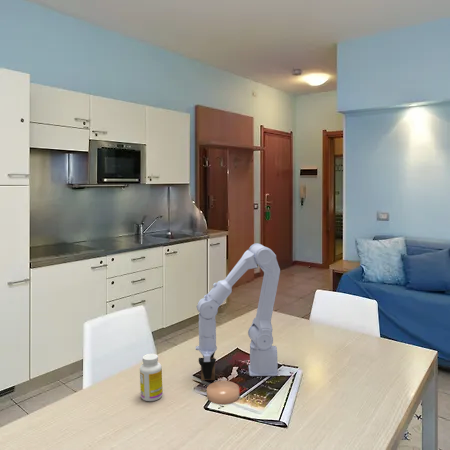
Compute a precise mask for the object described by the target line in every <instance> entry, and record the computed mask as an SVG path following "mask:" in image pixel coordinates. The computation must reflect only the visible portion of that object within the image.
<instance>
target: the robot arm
mask: <svg viewBox="0 0 450 450" xmlns="http://www.w3.org/2000/svg"><path fill="white" fill-rule="evenodd" d="M258 266H259V268H260V269H261V270H262V272H263V277H262V283H261V288H260V294H259V299H258V304H257V309H256V314H255V317H254V318H253V319H252V323H251V325H250V327H248V330H247V335H248V337H249V339H250V343H249V364H248V365H247V366H248V374H249V376H250V377H271V376H272V377H274V376H279V374H278V365H279V363H278V348H277V345H273V344H274V336H273V325H272V318H273V317H272V316H273V312H274V305H275V301H276V296H277V291H278V285H279V280H280V274H281V268H280V266H279V262H278V259H277V254H275V252H274V251H273V250H272V249H271V248H269V247H267V246H264V245H263V244H261V243H258V242H257V243H253V244H251V245H250V247H249V248H248V249H246V251H244V253H243V254H242V256H241V257H240V259H239V260H238V261H237V262H236V264H235V265H234V267H233V268H232V269H231V271H229V273H228V274H227V276H226V277H225V278H224V279H221V280H218V281H217V282H214V283H213V284H212V286H213V287H212V288H211V289H210V291H209V292H208V293H206V294H205V295H203V298H200V299H199V301H198V303H197V305H196V309H197V311H198V345H196V346H195V351H199V353H200V354H201V355H202V357H198V363H199V366H200V368H201V367H202V370H203V375H204V379H211V376H212V370H213V366H214V364H215V365H216V362H217V358H215V353H216V351H217V349H218V347H217V326H216V325H217V321H216V316H217V314H218V311H219V310H218V309H219V307H220V306H221V305H222V304H223V303H224V302H225V301H226V299H228V297H229V296H230V295H231V294H232V292H233V291H232V290H233V289H232V288H233V286H234V285H235V284H236V283H237V282H238V280H239V279H241V277H242V276H243V275H244V274H245V273H247V271H249V270H251V269H257V268H258ZM211 358H215V359H211Z"/></svg>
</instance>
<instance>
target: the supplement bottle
mask: <svg viewBox="0 0 450 450" xmlns="http://www.w3.org/2000/svg"><path fill="white" fill-rule="evenodd" d="M162 369H163V367H162V364H161V363H160V362H159V355H158V354H156V353H147V354H144V355H143V356H142V364H141V365H140V366H139V384H140V386H139V388H140V397H141V399H142V400H143V401H145V402H155V401H158V400H159V399H161V398H162V396H163V372H162V371H163V370H162Z"/></svg>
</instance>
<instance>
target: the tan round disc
mask: <svg viewBox="0 0 450 450" xmlns="http://www.w3.org/2000/svg"><path fill="white" fill-rule="evenodd" d="M206 397H207V400H208V401H209V402H211V403H212V404H213V403H214V404H217V405H228V404H232V403H234V402H237V401H238V399H239V398H240V386H239V385H238V384H237V383H235V382H233V381H229V380H218V381H217V380H216V381H214V382H212V383H210V384H208V385H207V387H206ZM238 397H239V398H238Z"/></svg>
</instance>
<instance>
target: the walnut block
mask: <svg viewBox="0 0 450 450" xmlns="http://www.w3.org/2000/svg"><path fill="white" fill-rule="evenodd" d="M211 359H216V358H215V357H213V358H211ZM215 379H216V363H215V364H214V366H213V370H212V376H211V379H204V375H203V370H202V367H201V366H200V380H201V382H203V380H215Z"/></svg>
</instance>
